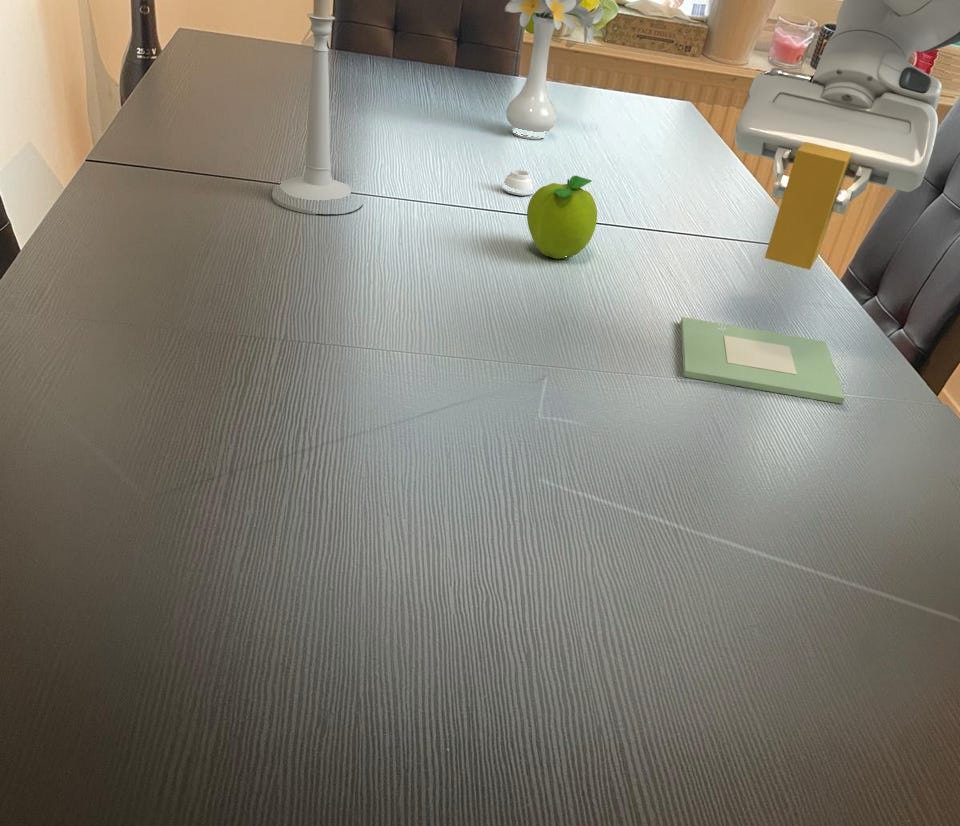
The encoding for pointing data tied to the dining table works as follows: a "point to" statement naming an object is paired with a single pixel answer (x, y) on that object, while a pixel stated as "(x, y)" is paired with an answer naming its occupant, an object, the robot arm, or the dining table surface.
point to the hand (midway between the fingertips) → (808, 202)
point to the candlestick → (317, 124)
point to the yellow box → (807, 204)
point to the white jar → (519, 182)
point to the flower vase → (544, 58)
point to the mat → (759, 360)
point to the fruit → (562, 218)
